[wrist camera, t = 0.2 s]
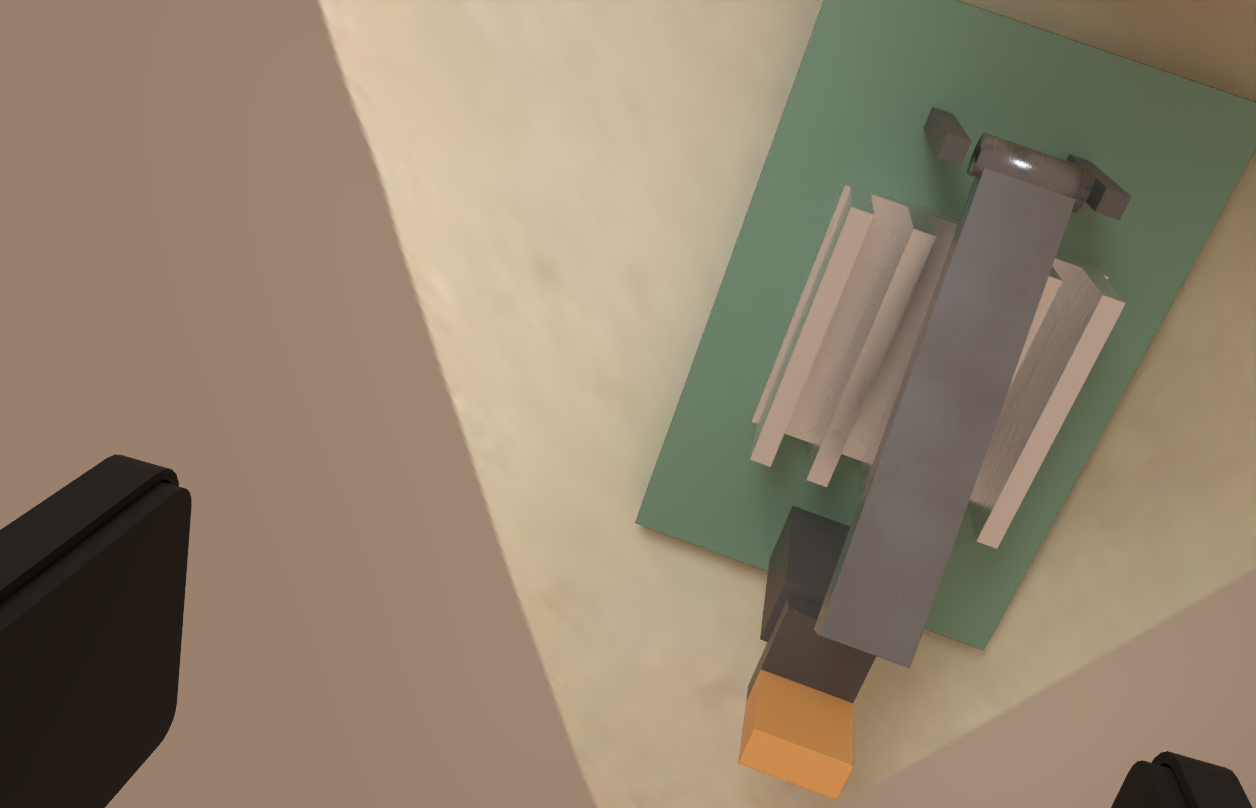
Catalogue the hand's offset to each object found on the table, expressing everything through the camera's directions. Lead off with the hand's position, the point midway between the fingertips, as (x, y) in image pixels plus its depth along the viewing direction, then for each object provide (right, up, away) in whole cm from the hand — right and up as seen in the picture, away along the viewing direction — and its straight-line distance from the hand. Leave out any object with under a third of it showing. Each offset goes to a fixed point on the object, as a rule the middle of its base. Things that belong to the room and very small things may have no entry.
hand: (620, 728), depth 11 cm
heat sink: (+11, +6, +33) cm, 36 cm away
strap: (+10, +3, +26) cm, 28 cm away
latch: (+7, -6, +32) cm, 33 cm away
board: (+12, +6, +35) cm, 37 cm away
